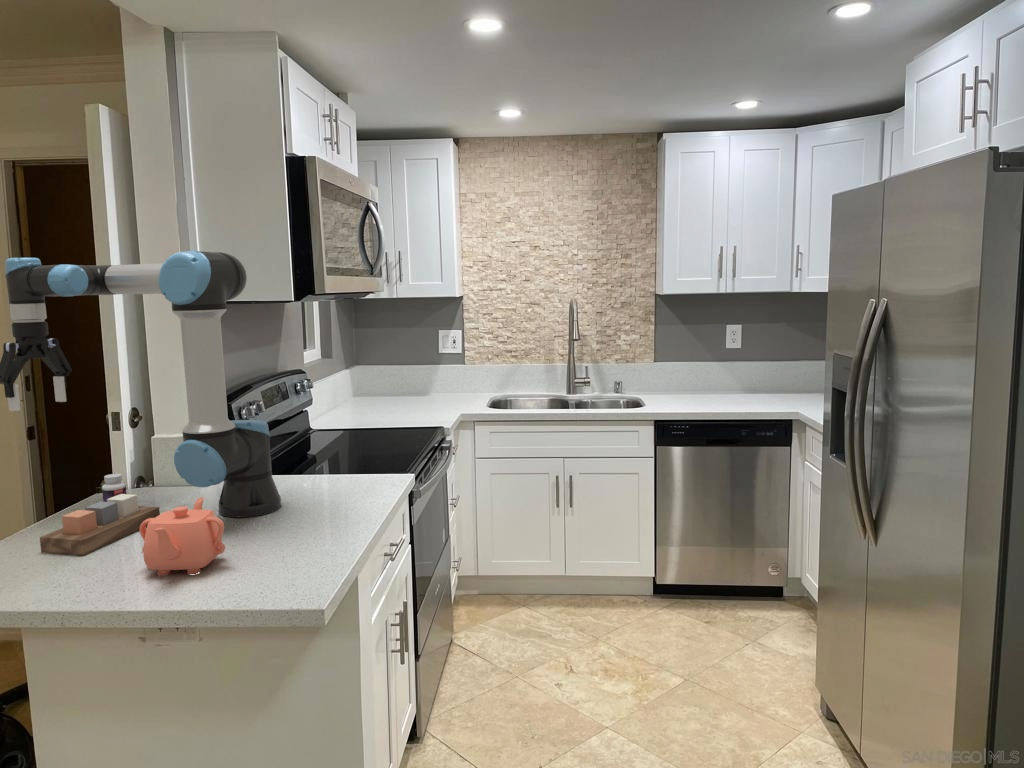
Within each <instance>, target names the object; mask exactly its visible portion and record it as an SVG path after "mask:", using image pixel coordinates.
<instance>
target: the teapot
mask: <svg viewBox="0 0 1024 768" xmlns="http://www.w3.org/2000/svg"><path fill="white" fill-rule="evenodd" d="M204 500H205V498H204V497H199V498H198V499H196V500H195V503H194V504H193V505H194V506H193V509H189V506H177V507H174V508H172V510H165V511H164V512H162V513H160V515H158V516H157V517H155V518H149V519H146V520H145V521H143V522H142V523H141V525H140V529H139V534H140V537H142V540H143V546H142V549H141V550H142V554H143V562H144V564H145V565H146V567H147V570H148V569H149V570H153V571H157V573H156V576H157V575H158V576H157V577H164V576H163V575H165V576H168V575H170V574H171V573H170V572H171V571H181V570H182V571H184V570H185V571H187V573H186V574H187V575H188V574H196V573H198V572H200V571H201V569H202V568H205V567H206V566H208V565H209V564H211V563H212V562H213V561H214V559H216V557H218V556H219V555H221V554H223V553H224V552H225V550H226V545H225V543H224V542H223V540H222V539H223V535H224V532H225V523H224V521H223V520H222V519H220V518H219V517H217V516H216V515H215V513H214V511H213V509H203V504H204ZM146 524H148V525H147V527H146ZM212 560H213V561H212ZM211 561H212V562H211ZM210 562H211V563H210ZM201 572H202V571H201ZM169 573H170V574H169ZM167 574H168V575H167Z"/></svg>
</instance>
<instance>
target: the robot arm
mask: <svg viewBox="0 0 1024 768" xmlns="http://www.w3.org/2000/svg"><path fill="white" fill-rule="evenodd" d="M4 265H5V266H4V267H5V270H4V271H5V277H4V278H5V279H6V288H7V295H8V303H9V311H10V320H11V321H13V322H12V324H11V332H12V337H13V338H14V339H15V342H4V343H3V348H2V349H3V353H2V355H1V359H0V385H3V389H4V396H5V398H7V403H8V412H9V411H10V412H20V411H21V401H20V393H19V384H18V383H15V382H16V381H17V378H18V377H19V375H20V373H21V372H22V370H23V368H24V367H25V365H26V363H27V362H29V361H30V360H35V359H40V360H42V361H43V363H44V364H45V365H46V366H47V367H48V369H50V370H51V372H53V374H54V376H52V380H53V387H54V388H53V389H54V399H55V402H56V403H57V402H58V403H65V402H67V392H66V389H67V380H66V379H67V377H69V376H70V373H72V372H73V369H72V367H71V365H70V363H69V361H68V359H67V358H66V356H65V354H64V352H63V350H62V349H61V346H60V343H59V339H58V338H51V337H50V338H47V336H49V333H50V332H49V325H48V322H47V321H45V320H46V319H47V318H48V316H47V315H48V314H47V308H46V298H45V297H64V298H66V297H75V296H76V297H77V296H113V295H154V294H155V295H156V294H157V295H158V294H161V295H163V296H164V299H166V301H168V302H171V311H172V313H173V314H174V315H175V316H177V317H178V319H179V320H180V332H181V342H182V343H181V344H182V356H183V367H184V368H183V369H184V378H185V390H186V392H185V393H186V402H187V403H186V404H187V416H188V422H187V424H186V425H185V426H184V427H183V428H182V441H183V442H181V443H180V444H179V445H177V446H178V447H177V449H175V451H174V453H173V464H174V467H175V470H176V472H177V474H178V475H179V477H180V478H181V479H183V480H185V482H186V483H187V484H189V485H190V486H193V487H194V488H195V487H197V488H208V487H212V486H216V485H220V484H221V483H223V484H222V489H221V493H220V496H219V501H218V505H217V506H218V513H219V515H221V516H223V517H227V518H249V517H250V518H251V517H252V518H253V517H258V516H263V515H267V514H270V513H273V512H276V511H278V510H279V509H280V508H281V507H282V499H281V495H280V494H279V491H278V489H277V485H276V483H275V481H274V478H273V472H272V455H271V439H270V438H271V434H270V429H269V424H268V423H267V422H266V421H264V420H259V419H256V420H255V419H238V420H237V419H236V420H235V419H234V420H230V419H229V416H228V414H229V413H228V400H227V399H228V398H227V388H226V387H227V385H226V377H225V376H226V374H225V361H224V359H225V358H224V350H223V349H224V348H223V334H222V321H221V318H222V317H223V315H224V314H225V313H226V312H227V310H228V309H227V302H228V301H231V300H233V299H235V298H237V297H239V295H241V294H242V292H243V291H244V290H245V288H246V285H247V281H248V279H247V278H248V277H247V271H246V269H245V267H244V265H243V263H242V262H241V261H240V259H238V258H237V257H235V256H233V255H231V254H229V253H226V252H219V251H218V252H217V251H215V252H214V251H213V252H212V251H201V250H200V251H198V250H188V251H179V252H176V253H173V254H172V255H170V256H169V257H168V258H167V259H166V260H165V261H164V262H163V263H139V264H138V263H136V264H134V263H132V264H131V263H130V264H108V265H106V264H101V265H100V264H99V265H83V264H79V265H78V264H65V263H64V264H51V265H50V264H49V265H42V262H41V259H40V258H38V257H9V258H7V259H5V263H4ZM280 506H281V507H280ZM278 508H279V509H278Z"/></svg>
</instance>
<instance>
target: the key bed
mask: <svg viewBox="0 0 1024 768" xmlns="http://www.w3.org/2000/svg"><path fill="white" fill-rule="evenodd" d="M138 508H139V511H137V512H135V513H133V514H130V515H128V516H125V517H121V516H118V518H119V519H118V520H116V521H113V522H111V523H109V524H106V525H104V526H102V525H97V529H94V530H92V531H89V532H87V533H85V534H82V535H73V534H64V532H63V527H62V528H60V529H57V530H54V531H52V532H49V533H46V534H44V535H42V536H39V543H40V544H39V545H40V551H41V553H42V554H52V555H53V554H54V555H64V556H65V555H67V556H77V557H84V556H87V555H88V554H91V553H93V552H95V551H97V550H99V549H102V548H104V547H106V546H109V545H110V544H113V543H116V542H117V541H119V540H121V539H124V538H127V537H128V536H130V535H132V534H135V533H137V532H140V530H139V529H140V525H141V523H142V522H143V521H145V520H146V519H149V518H155V517H157V516H158V515H160V514H161V511H160V506H146V505H144V506H143V505H138ZM147 525H148V524H146V528H147Z"/></svg>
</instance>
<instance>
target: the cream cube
mask: <svg viewBox="0 0 1024 768" xmlns="http://www.w3.org/2000/svg"><path fill="white" fill-rule="evenodd" d="M138 499H139V498H138V494H129V493H126V494H120V495H117V496H114V497H112V498H109V499H107V502H114V503H117V507H118V516H121V517H125V516H128V515H130V514H133V513H135V512H137V511H139V508H138V506H139V500H138Z"/></svg>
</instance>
